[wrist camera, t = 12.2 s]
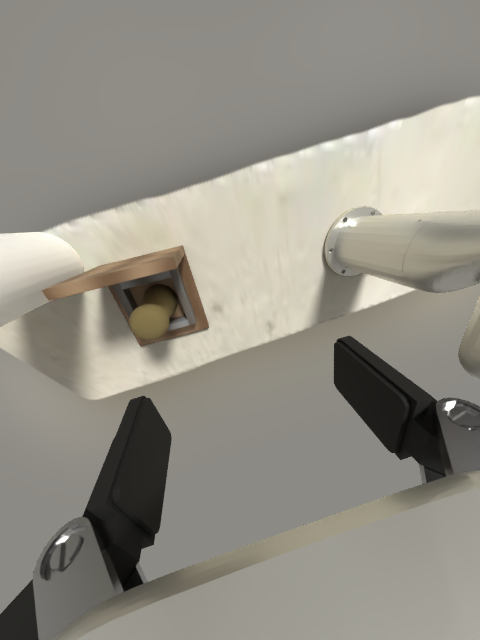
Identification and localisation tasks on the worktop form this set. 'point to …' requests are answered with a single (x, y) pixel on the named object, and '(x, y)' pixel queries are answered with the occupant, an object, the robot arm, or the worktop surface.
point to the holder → (144, 288)
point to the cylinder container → (32, 270)
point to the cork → (154, 312)
